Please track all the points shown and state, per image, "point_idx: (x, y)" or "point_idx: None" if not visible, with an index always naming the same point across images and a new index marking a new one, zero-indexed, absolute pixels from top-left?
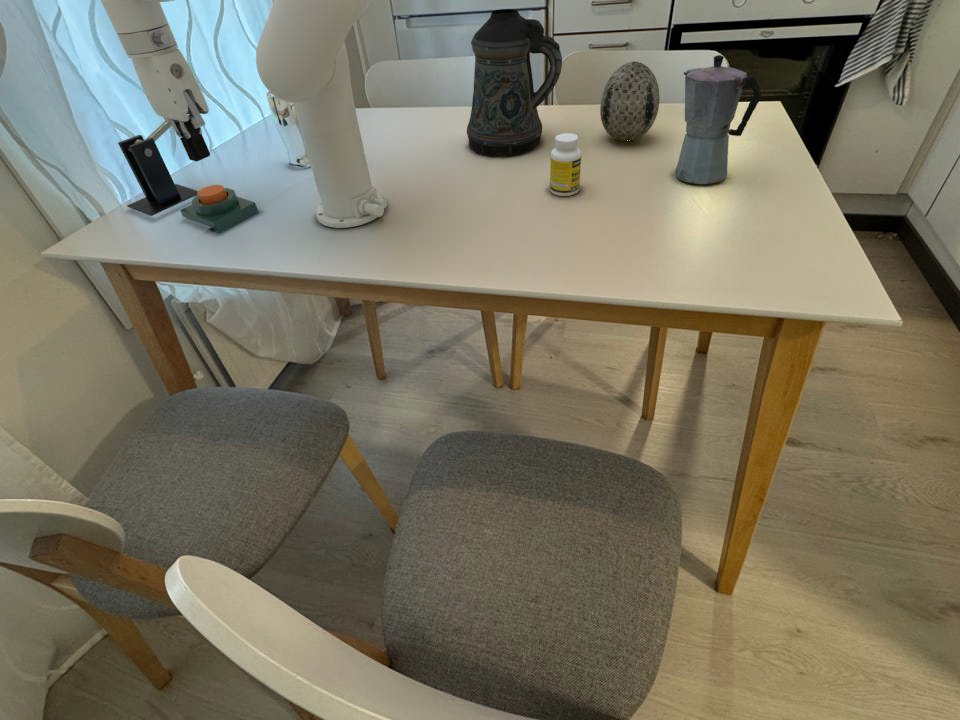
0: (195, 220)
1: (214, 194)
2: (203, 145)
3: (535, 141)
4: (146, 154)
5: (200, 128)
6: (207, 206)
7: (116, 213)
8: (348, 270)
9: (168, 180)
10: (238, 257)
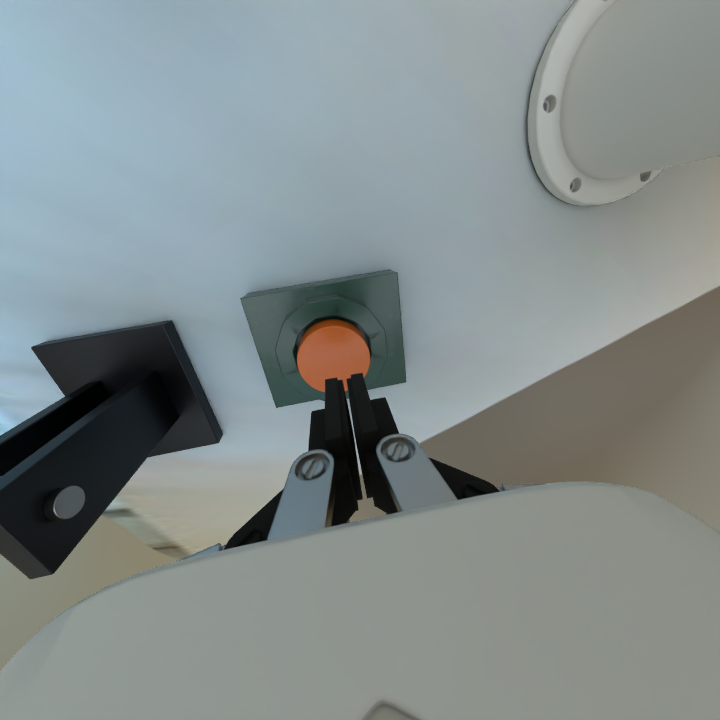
0: None
1: (369, 364)
2: (389, 413)
3: None
4: (79, 505)
5: (424, 455)
6: (372, 383)
7: None
8: (708, 283)
9: (130, 406)
10: (503, 381)
